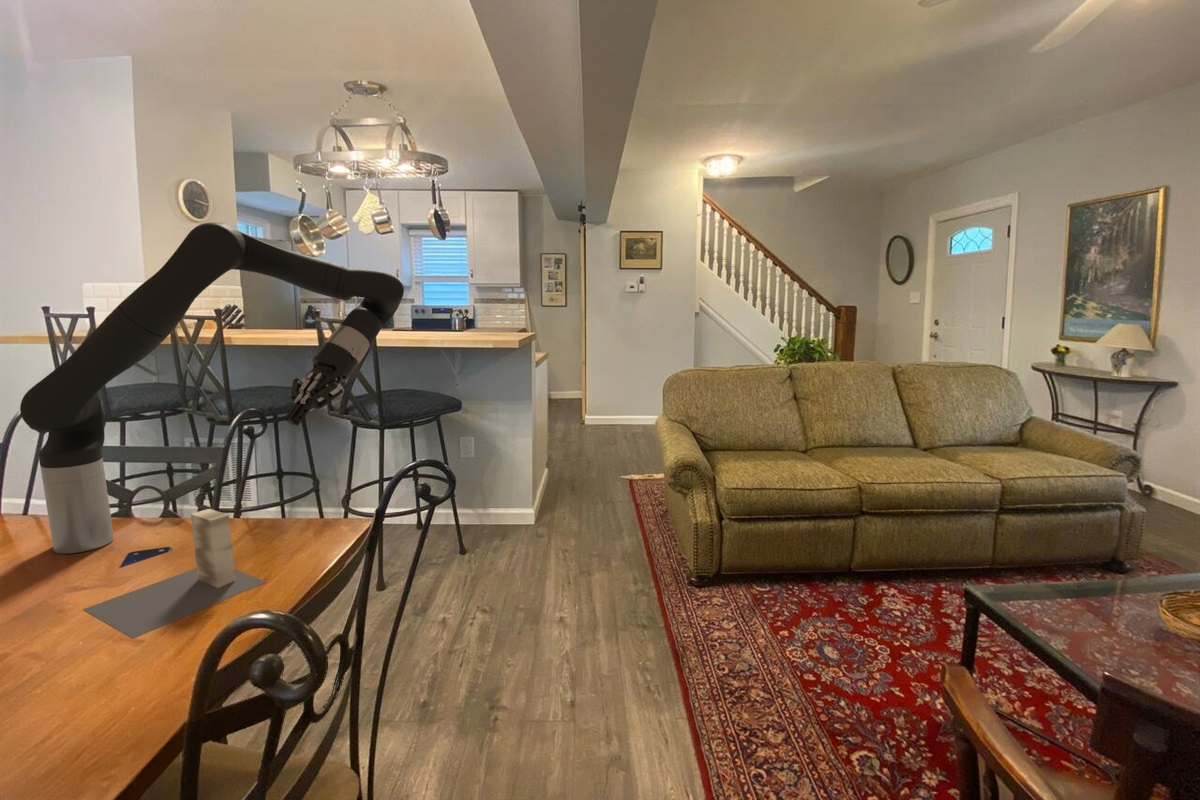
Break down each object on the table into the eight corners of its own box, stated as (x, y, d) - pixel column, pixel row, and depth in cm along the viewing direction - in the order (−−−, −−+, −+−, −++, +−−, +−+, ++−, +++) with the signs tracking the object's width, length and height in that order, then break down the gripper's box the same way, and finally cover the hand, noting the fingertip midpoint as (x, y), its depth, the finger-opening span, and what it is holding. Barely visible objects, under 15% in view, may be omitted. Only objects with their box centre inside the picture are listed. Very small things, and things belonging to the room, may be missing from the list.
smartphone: (173, 545, 119) (159, 576, 105) (173, 549, 119) (159, 581, 106) (127, 551, 115) (106, 585, 102) (127, 556, 115) (107, 590, 102)
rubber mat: (83, 614, 94) (82, 609, 94) (215, 565, 111) (215, 561, 111) (133, 643, 86) (132, 638, 86) (267, 586, 103) (267, 581, 103)
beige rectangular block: (198, 579, 104) (190, 514, 102) (217, 572, 107) (210, 508, 105) (217, 587, 101) (210, 520, 99) (236, 580, 104) (230, 514, 102)
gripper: (308, 339, 122) (254, 407, 114) (352, 342, 116) (298, 415, 107) (332, 362, 127) (283, 429, 119) (375, 367, 121) (326, 438, 113)
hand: (290, 422), depth 113 cm, fingers closed
